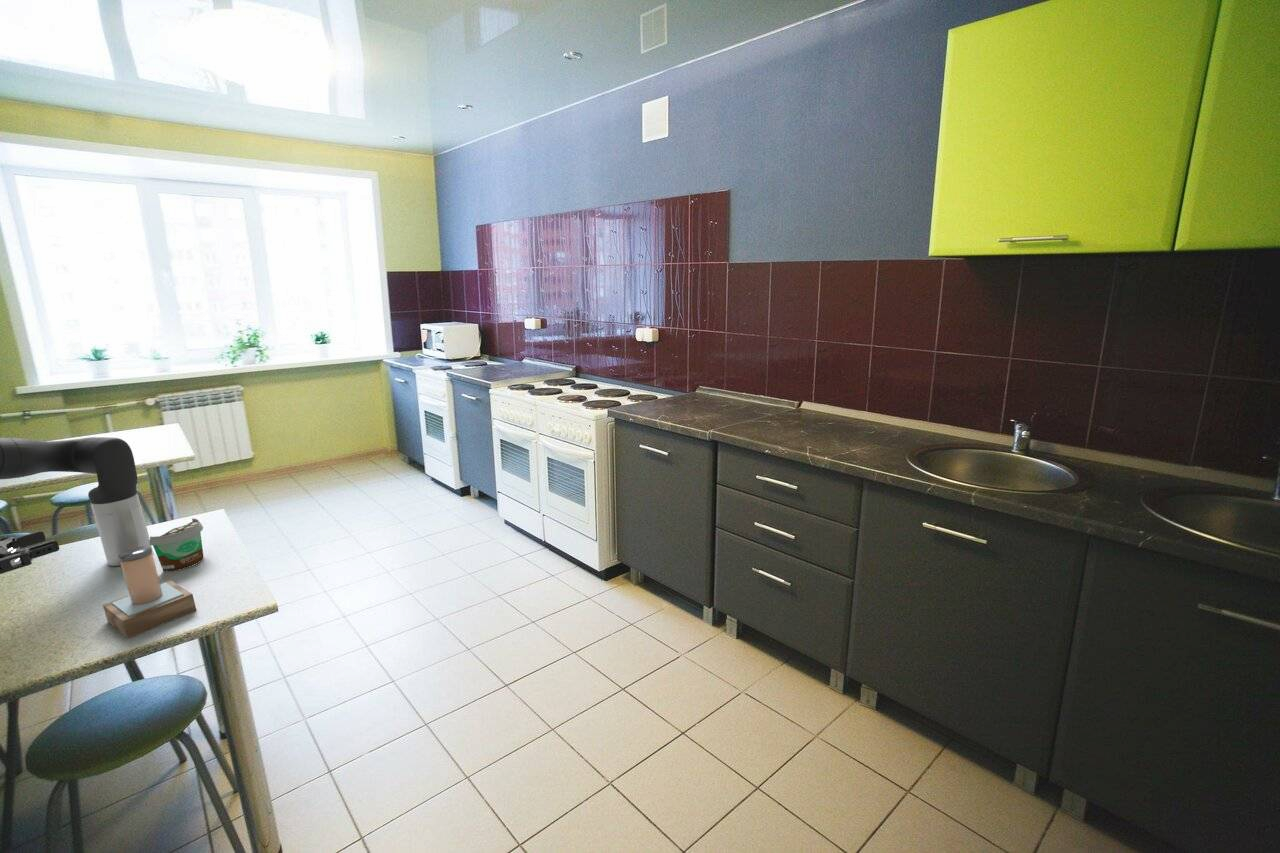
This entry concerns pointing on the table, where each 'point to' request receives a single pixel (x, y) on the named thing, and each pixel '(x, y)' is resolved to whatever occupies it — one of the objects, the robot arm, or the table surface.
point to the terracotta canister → (140, 575)
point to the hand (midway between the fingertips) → (50, 539)
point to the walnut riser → (149, 610)
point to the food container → (179, 546)
